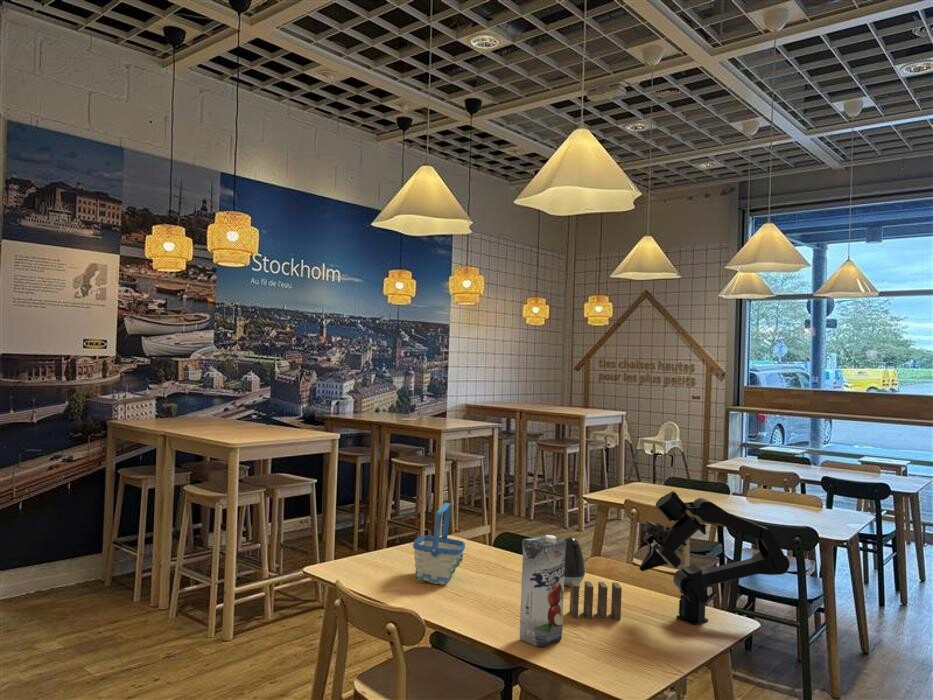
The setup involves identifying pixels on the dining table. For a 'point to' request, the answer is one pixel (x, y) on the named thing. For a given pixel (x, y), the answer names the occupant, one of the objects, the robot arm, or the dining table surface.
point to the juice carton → (542, 590)
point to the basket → (438, 552)
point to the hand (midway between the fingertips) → (640, 569)
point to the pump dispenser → (573, 562)
